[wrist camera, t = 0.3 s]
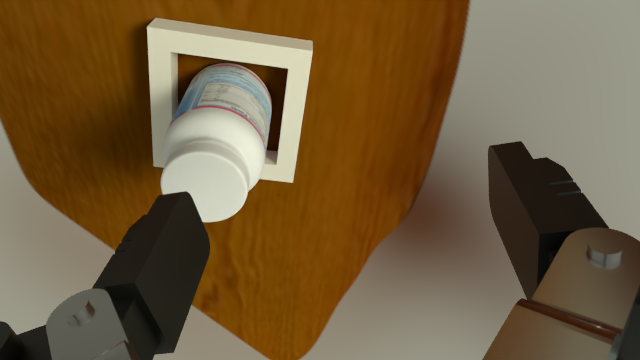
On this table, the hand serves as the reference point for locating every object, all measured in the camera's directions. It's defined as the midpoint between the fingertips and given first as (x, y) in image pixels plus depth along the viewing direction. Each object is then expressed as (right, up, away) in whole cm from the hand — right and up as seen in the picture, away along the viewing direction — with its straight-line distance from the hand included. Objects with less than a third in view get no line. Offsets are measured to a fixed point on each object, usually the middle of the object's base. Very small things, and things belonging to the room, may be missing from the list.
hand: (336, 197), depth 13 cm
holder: (-7, +6, +22) cm, 24 cm away
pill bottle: (-7, +6, +22) cm, 24 cm away
